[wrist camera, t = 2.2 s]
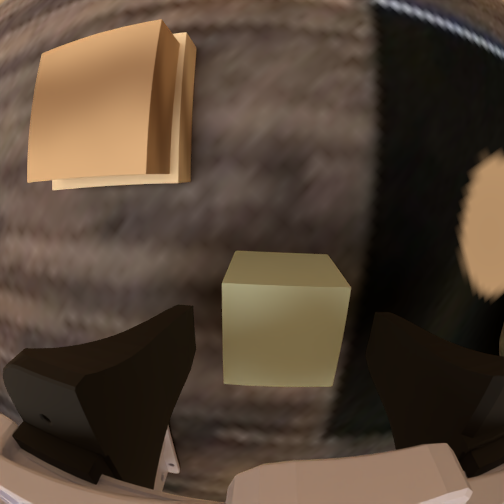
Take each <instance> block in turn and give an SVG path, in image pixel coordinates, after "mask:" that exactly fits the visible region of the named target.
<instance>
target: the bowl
mask: <svg viewBox="0 0 504 504" xmlns="http://www.w3.org/2000/svg"><path fill="white" fill-rule="evenodd" d="M499 355H500V356H503V357H504V323H503V327H502V331H501V335H500V340H499Z"/></svg>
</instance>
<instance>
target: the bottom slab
mask: <svg viewBox="0 0 504 504" xmlns="http://www.w3.org/2000/svg"><path fill="white" fill-rule="evenodd" d="M173 35H174V37H175V38H176V39H177V41H178V42H179V43H180V47H179V55H178V63H177V72H176V82H175V92H174V104H173V117H172V132H171V151H170V174H141V175H115V176H96V177H82V178H69V179H57V180H52V189H53V190H61V189H72V188H84V187H97V186H113V185H132V184H158V183H183V182H191V135H192V110H193V91H194V75H195V62H196V49H197V48H196V47H195V45H194V43H193V42H192V40H191V39H190V37H189V35H188V34H187V32H185V33H177V34H173Z"/></svg>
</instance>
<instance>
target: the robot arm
mask: <svg viewBox="0 0 504 504" xmlns="http://www.w3.org/2000/svg"><path fill="white" fill-rule="evenodd" d="M195 351H196V344H195V330H194V315H193V306H187V305H176V306H174V307H172V308H170V309H168V310H166V311H164V312H162V313H160V314H159V315H157V316H155V317H153V318H151V319H149V320H148V321H146V322H144V323H141V324H139V325H137V326H135V327H133V328H131V329H129V330H127V331H124V332H122V333H119V334H117V335H114V336H111V337H108V338H105V339H101V340H97V341H93V342H89V343H85V344H81V345H75V346H68V347H60V348H39V349H28V348H26V349H24V350H23V351H22V352H20V353H19V354H18V355H17V356H16V357H15V358H14V359H12V360H11V361H10V362H9V363H8V364H7V365H6V366H5V367H4V369H3V379H4V384H5V387H6V389H7V391H8V394H9V395H10V397H11V399H12V401H13V403H14V405H15V407H16V409H17V410H18V412H19V414H20V416H21V417H22V419H23V422H22V424H21V425H20V426H19V427H18V425H17V424H16V423H15V422H14V421H12V420H11V419H9V418H8V417H6V416H5V415H3V414H1V413H0V504H504V357H503V356H496V355H491V354H486V353H482V352H478V351H474V350H471V349H468V348H465V347H462V346H459V345H456V344H454V343H451V342H449V341H446V340H444V339H442V338H440V337H438V336H436V335H434V334H432V333H430V332H428V331H426V330H424V329H422V328H420V327H418V326H416V325H414V324H413V323H411V322H409V321H407V320H405V319H403V318H401V317H399V316H397V315H395V314H393V313H390V312H375V315H374V319H373V324H372V328H371V333H370V337H369V341H368V345H367V349H366V353H365V356H366V360H367V364H368V368H369V371H370V375H371V377H372V380H373V382H374V384H375V387H376V389H377V391H378V394H379V396H380V398H381V401H382V403H383V406H384V408H385V410H386V413H387V416H388V419H389V421H390V425H391V429H392V433H393V438H394V442H395V447H396V450H393V451H387V452H381V453H375V454H368V455H360V456H352V457H342V458H330V459H312V460H291V461H283V462H275V463H265V464H261V465H259V466H257V467H254V468H252V469H249V470H246V471H244V472H241V473H239V474H237V475H235V477H234V478H233V480H232V482H231V483H230V485H229V486H228V490H227V497H226V502H218V501H210V500H203V499H197V498H191V497H185V496H180V495H175V494H170V493H165V492H162V489H163V486H164V483H165V480H166V477H167V474H168V472H171V473H179V472H180V467H179V463H178V460H177V456H176V453H175V449H174V445H173V441H172V437H171V433H170V429H169V425H168V424H169V420H170V417H171V414H172V412H173V409H174V407H175V405H176V402H177V400H178V398H179V395H180V393H181V391H182V388H183V386H184V384H185V382H186V379H187V377H188V375H189V372H190V370H191V366H192V363H193V359H194V355H195Z"/></svg>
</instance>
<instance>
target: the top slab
mask: <svg viewBox="0 0 504 504" xmlns="http://www.w3.org/2000/svg"><path fill="white" fill-rule="evenodd" d="M179 47H180V43H179V42H178V41H177V39H176V38H175V37H174V35H173V34H172V33H171V31H170V30H169V28H168V27H167V26H166V24H165V23H164V22H163V20H162V19H161V20H155V21H150V22H144V23H139V24H135V25H130V26H126V27H121V28H117V29H113V30H110V31H106V32H102V33H99V34H95V35H92V36H89V37H86V38H82V39H79V40H76V41H74V42H71V43H68V44H65V45H62V46H60V47H57V48H55V49H52V50H50V51H47V52H45V53H42V56H41V61H40V65H39V70H38V75H37V80H36V85H35V91H34V97H33V104H32V112H31V121H30V131H29V144H28V167H27V183H28V182H37V181H47V180H57V179H69V178H82V177H96V176H115V175H141V174H170V151H171V132H172V117H173V104H174V92H175V82H176V72H177V63H178V55H179Z"/></svg>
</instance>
